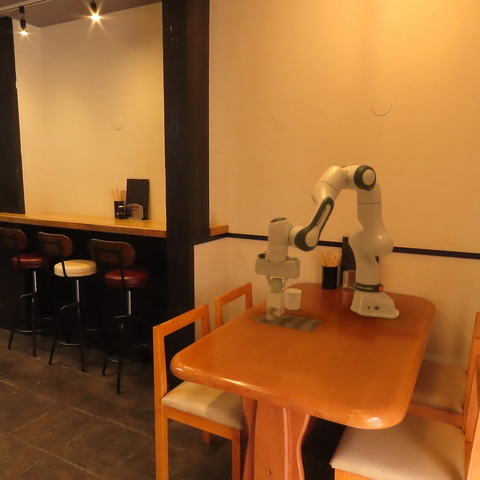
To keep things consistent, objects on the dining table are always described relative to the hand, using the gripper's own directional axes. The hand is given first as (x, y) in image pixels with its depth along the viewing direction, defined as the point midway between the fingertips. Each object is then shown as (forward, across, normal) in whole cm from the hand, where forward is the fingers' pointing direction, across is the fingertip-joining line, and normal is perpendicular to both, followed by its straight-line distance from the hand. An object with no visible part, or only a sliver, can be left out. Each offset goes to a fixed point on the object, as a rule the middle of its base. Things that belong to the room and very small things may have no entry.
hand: (276, 286), depth 183 cm
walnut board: (+16, -6, 0) cm, 17 cm away
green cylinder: (+2, 0, 0) cm, 2 cm away
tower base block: (+15, 0, 0) cm, 15 cm away
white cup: (+16, -1, -19) cm, 25 cm away
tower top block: (+9, 0, 0) cm, 9 cm away
